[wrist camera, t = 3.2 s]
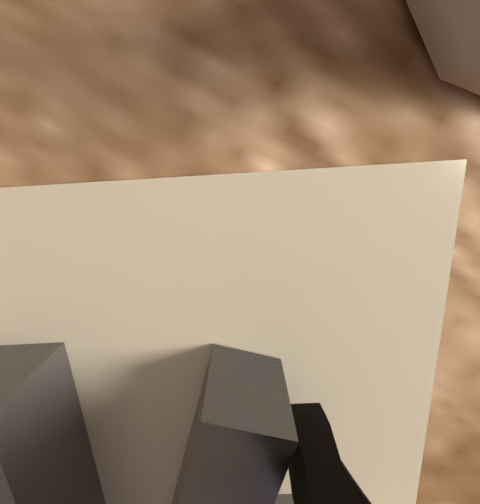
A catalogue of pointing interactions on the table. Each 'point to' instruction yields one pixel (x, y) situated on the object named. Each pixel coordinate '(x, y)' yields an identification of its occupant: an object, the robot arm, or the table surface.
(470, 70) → the flask
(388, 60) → the table surface
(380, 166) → the hearth board
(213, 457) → the block
